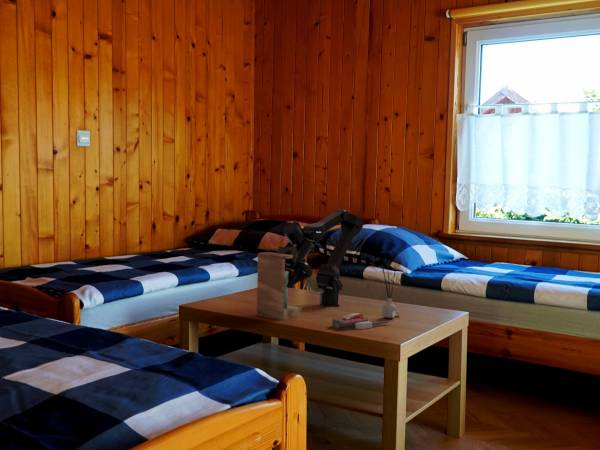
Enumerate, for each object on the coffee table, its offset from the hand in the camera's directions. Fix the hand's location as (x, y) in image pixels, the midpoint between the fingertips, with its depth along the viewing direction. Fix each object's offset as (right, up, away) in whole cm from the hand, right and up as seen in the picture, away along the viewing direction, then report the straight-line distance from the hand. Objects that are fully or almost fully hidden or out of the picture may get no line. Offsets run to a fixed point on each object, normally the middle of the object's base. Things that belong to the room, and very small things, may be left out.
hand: (277, 285), depth 232 cm
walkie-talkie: (+28, -13, -12) cm, 33 cm away
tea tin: (+1, -8, +2) cm, 8 cm away
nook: (0, -11, +2) cm, 11 cm away
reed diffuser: (+40, -12, +2) cm, 42 cm away
